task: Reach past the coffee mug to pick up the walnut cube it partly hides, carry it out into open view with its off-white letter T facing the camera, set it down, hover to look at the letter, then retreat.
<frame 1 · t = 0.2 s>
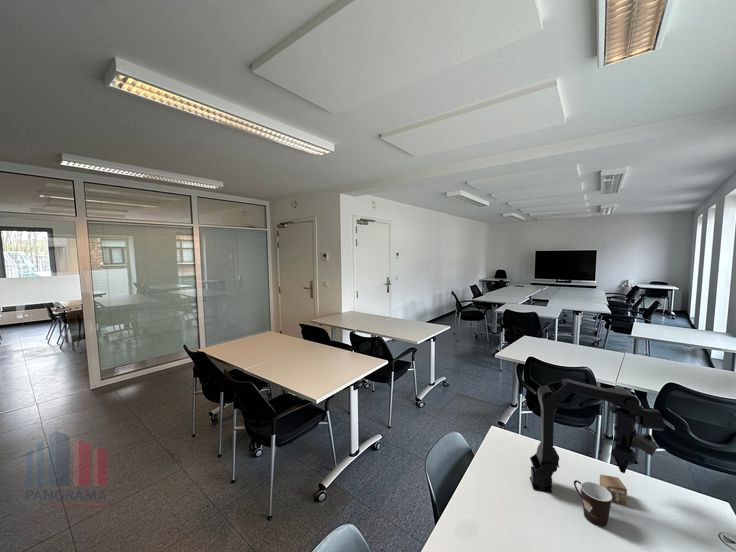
hand: (623, 465, 108), 13 cm above the table, fingers open, 9 cm apart
coffee mug: (592, 515, 102), on the table
walnut letter cube: (612, 496, 110), on the table
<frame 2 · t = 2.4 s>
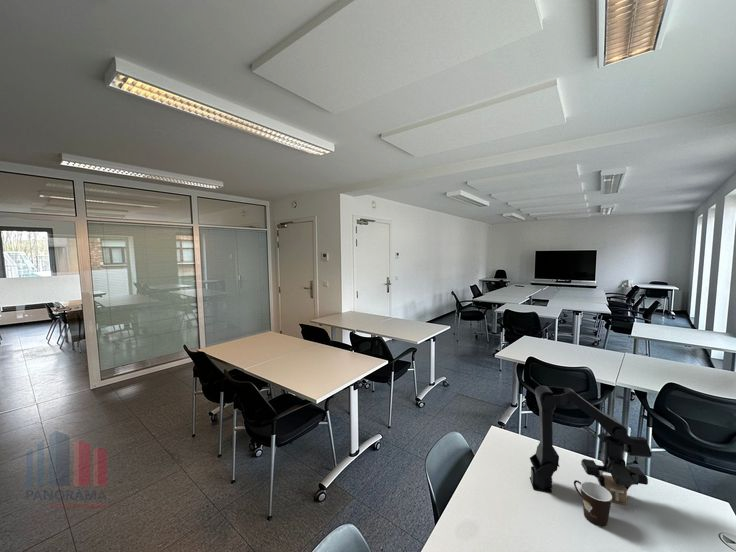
hand: (612, 492, 110), 2 cm above the table, fingers closed on walnut letter cube, 6 cm apart
walnut letter cube: (612, 496, 110), on the table, touching gripper
everything else where it was.
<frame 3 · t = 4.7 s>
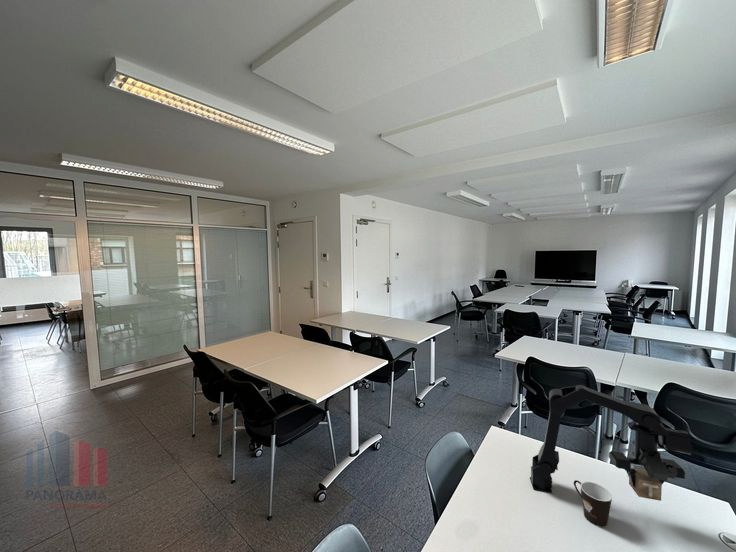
hand: (644, 487, 100), 11 cm above the table, fingers closed on walnut letter cube, 6 cm apart
walnut letter cube: (644, 492, 100), point 10 cm above the table, touching gripper
everything else where it was.
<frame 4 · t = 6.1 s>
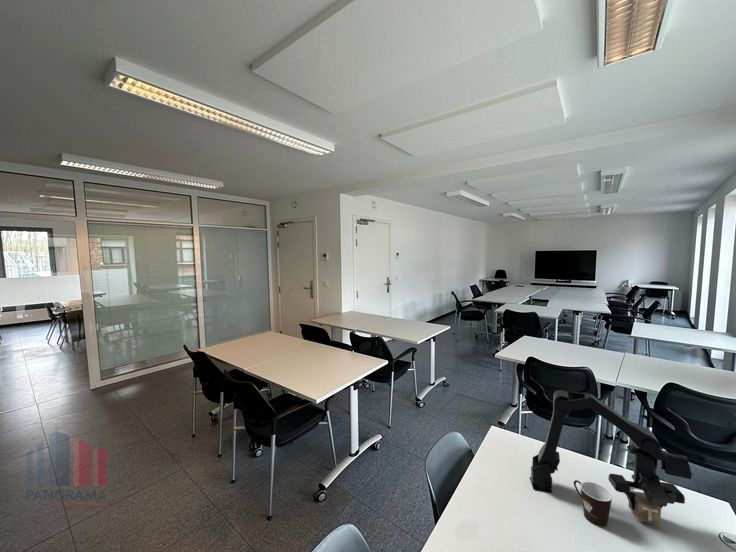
hand: (644, 511, 100), 3 cm above the table, fingers closed on walnut letter cube, 6 cm apart
walnut letter cube: (643, 515, 100), point 1 cm above the table, touching gripper
everything else where it was.
when the fingers open (2 cm above the table, at t = 7.1 s): walnut letter cube drops 1 cm, on the table.
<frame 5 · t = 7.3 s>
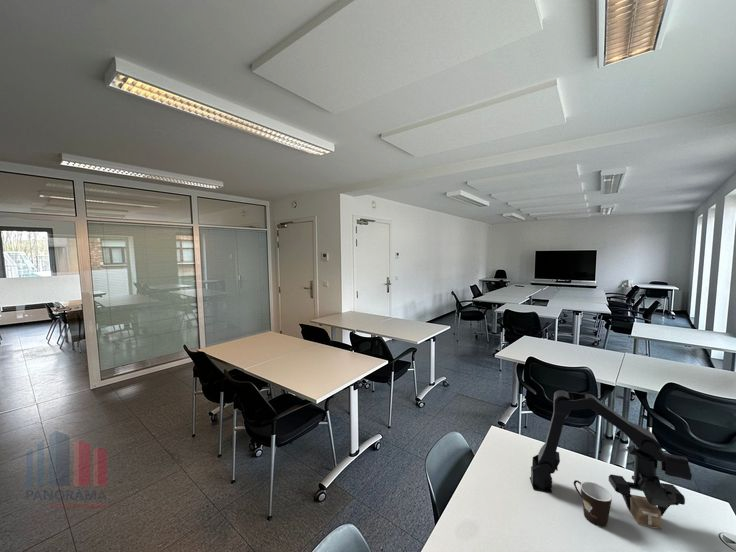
hand: (644, 512, 100), 2 cm above the table, fingers open, 8 cm apart
walnut letter cube: (643, 519, 101), on the table
everything else where it was.
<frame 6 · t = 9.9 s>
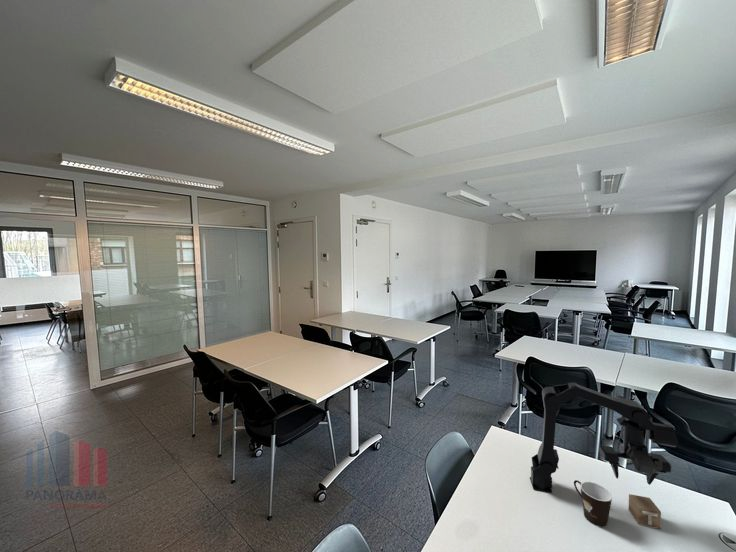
hand: (632, 480, 104), 11 cm above the table, fingers open, 9 cm apart
nothing on the table moved.
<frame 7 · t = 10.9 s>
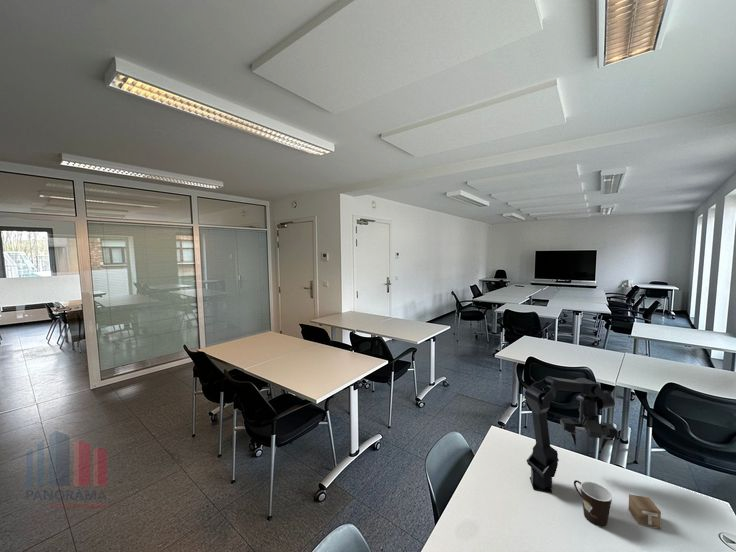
hand: (587, 446, 121), 12 cm above the table, fingers open, 9 cm apart
nothing on the table moved.
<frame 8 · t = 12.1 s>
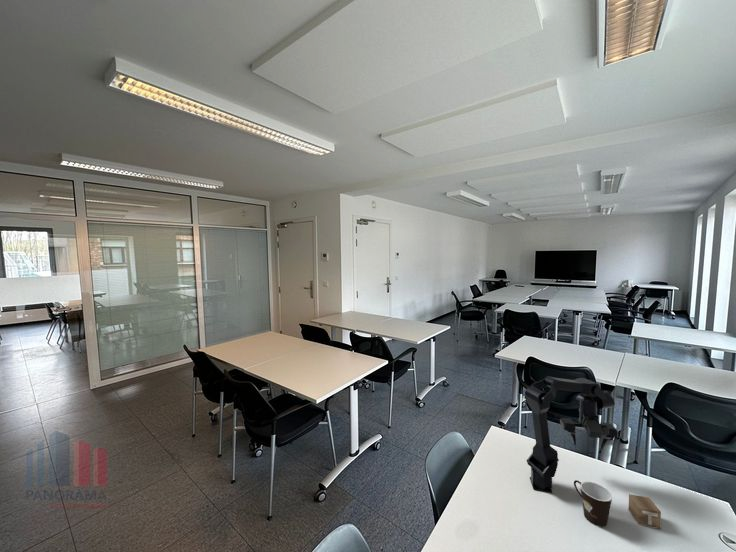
hand: (587, 446, 121), 12 cm above the table, fingers open, 9 cm apart
nothing on the table moved.
at the end: walnut letter cube inside the target area (0.1 cm from its centre), on the table; walnut letter cube tilted 0°; coffee mug moved 0.2 cm from its start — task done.
